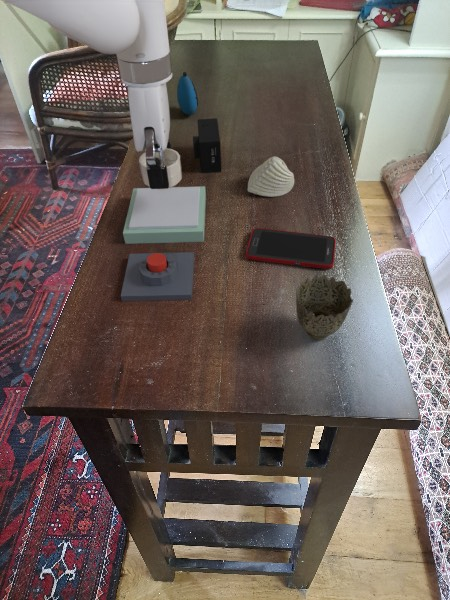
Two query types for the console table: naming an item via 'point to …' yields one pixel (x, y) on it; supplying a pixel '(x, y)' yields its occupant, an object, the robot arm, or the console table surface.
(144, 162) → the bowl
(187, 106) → the ornament
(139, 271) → the pad
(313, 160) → the console table surface
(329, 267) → the cell phone
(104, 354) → the console table surface
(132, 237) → the scale
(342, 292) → the cup
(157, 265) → the button
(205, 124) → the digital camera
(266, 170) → the seashell
